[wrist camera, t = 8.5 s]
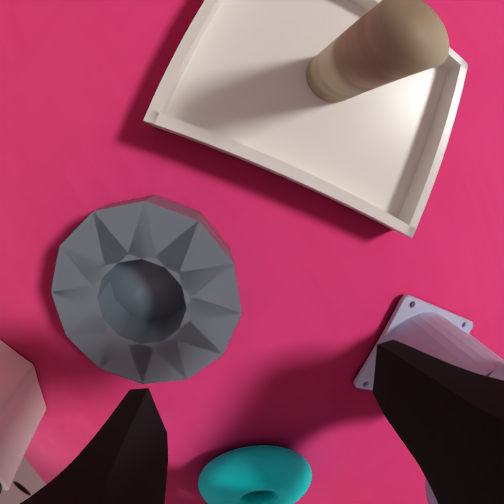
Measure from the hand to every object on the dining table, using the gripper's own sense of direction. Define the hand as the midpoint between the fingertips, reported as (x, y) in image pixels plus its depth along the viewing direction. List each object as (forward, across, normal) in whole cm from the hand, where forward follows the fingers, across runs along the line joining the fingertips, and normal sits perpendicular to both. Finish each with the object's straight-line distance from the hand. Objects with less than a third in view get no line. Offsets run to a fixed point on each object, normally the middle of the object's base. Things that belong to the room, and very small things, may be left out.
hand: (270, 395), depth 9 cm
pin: (+10, -7, -11) cm, 16 cm away
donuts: (+11, +1, +19) cm, 22 cm away
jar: (+11, +20, +6) cm, 24 cm away
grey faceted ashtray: (+10, +5, -1) cm, 12 cm away
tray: (+10, -7, -11) cm, 17 cm away
